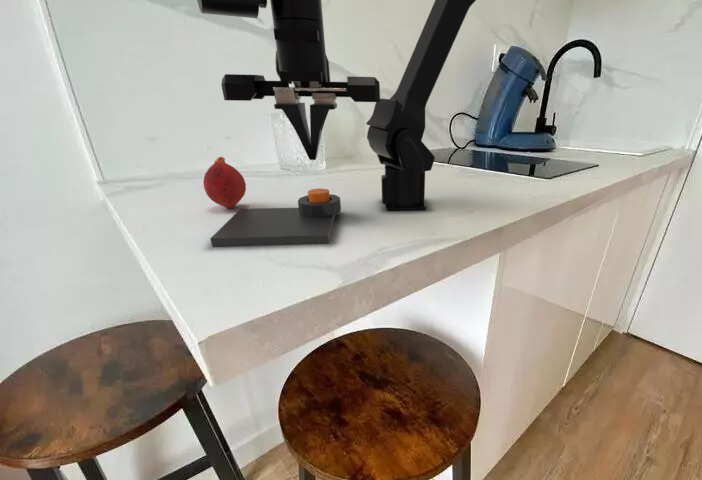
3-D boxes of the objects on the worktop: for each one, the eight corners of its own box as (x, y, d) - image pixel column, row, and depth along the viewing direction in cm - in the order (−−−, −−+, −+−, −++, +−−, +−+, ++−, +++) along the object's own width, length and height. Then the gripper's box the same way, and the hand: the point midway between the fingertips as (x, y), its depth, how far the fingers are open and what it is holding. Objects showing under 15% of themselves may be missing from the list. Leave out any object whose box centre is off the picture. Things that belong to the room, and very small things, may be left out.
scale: (342, 212, 57) (341, 193, 56) (336, 244, 46) (334, 221, 44) (244, 214, 56) (239, 195, 54) (212, 247, 45) (206, 224, 43)
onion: (235, 215, 55) (222, 161, 51) (201, 213, 56) (187, 159, 52) (256, 204, 60) (247, 154, 56) (225, 202, 61) (214, 152, 57)
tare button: (330, 198, 55) (329, 188, 54) (329, 204, 52) (328, 193, 51) (310, 198, 54) (309, 188, 54) (307, 204, 52) (306, 193, 51)
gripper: (376, 33, 51) (379, 150, 58) (237, 29, 49) (258, 150, 56) (378, 21, 41) (381, 163, 49) (205, 15, 39) (235, 164, 47)
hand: (313, 159), depth 50 cm, fingers closed
